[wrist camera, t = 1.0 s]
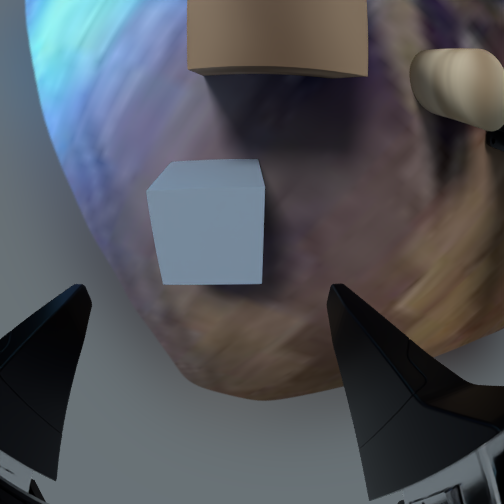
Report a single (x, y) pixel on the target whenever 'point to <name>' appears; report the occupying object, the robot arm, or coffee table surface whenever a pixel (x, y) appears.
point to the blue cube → (209, 222)
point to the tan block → (278, 37)
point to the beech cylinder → (460, 85)
